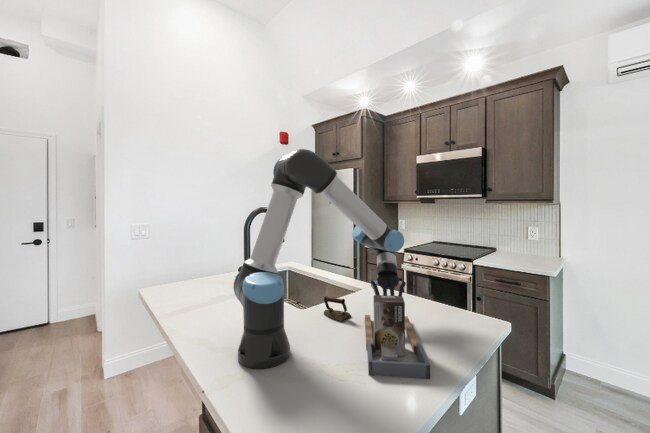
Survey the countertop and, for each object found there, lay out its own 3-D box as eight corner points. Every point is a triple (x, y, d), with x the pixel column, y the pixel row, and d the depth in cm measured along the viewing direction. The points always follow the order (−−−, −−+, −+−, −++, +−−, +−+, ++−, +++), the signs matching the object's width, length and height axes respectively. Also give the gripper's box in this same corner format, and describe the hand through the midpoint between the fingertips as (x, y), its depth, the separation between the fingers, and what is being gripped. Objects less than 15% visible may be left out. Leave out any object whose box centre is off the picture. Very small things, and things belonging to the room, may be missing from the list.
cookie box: (402, 346, 93) (403, 295, 93) (405, 356, 87) (405, 302, 86) (373, 344, 95) (373, 294, 94) (373, 354, 88) (373, 301, 88)
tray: (430, 378, 76) (430, 365, 76) (368, 375, 78) (368, 361, 78) (419, 353, 89) (419, 341, 89) (367, 350, 91) (367, 339, 91)
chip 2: (397, 371, 80) (397, 357, 79) (382, 370, 80) (382, 356, 80) (396, 363, 83) (396, 349, 83) (381, 362, 84) (381, 348, 84)
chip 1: (395, 363, 83) (395, 349, 83) (381, 362, 84) (381, 348, 84) (394, 356, 87) (394, 343, 87) (380, 355, 88) (380, 342, 88)
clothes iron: (343, 324, 112) (337, 298, 112) (320, 324, 118) (313, 300, 118) (352, 316, 117) (346, 292, 118) (329, 317, 124) (323, 294, 124)
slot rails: (420, 353, 89) (420, 346, 89) (366, 350, 91) (366, 344, 91) (407, 321, 113) (407, 316, 113) (364, 319, 115) (364, 314, 114)
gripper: (403, 272, 118) (409, 332, 102) (369, 271, 119) (370, 330, 104) (405, 261, 112) (412, 323, 96) (370, 261, 114) (371, 321, 98)
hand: (390, 327), depth 100 cm, fingers closed
